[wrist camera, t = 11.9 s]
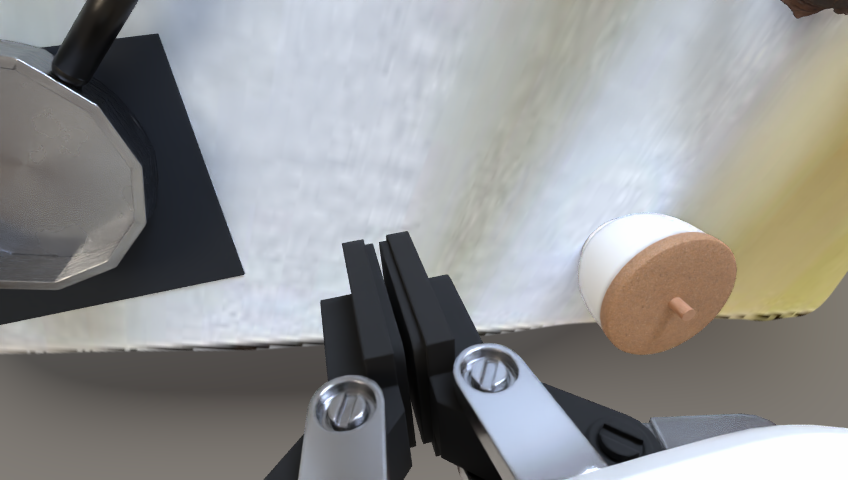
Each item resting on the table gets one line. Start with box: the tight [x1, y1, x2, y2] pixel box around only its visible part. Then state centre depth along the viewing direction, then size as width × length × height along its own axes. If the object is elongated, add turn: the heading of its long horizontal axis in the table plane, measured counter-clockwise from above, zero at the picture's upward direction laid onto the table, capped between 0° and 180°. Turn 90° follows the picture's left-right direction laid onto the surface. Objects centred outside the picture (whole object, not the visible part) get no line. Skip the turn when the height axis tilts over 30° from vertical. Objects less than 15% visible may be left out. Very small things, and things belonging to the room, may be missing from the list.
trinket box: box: [578, 213, 737, 355], centre depth 37 cm, size 11×11×9 cm
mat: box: [0, 34, 244, 325], centre depth 28 cm, size 16×18×1 cm
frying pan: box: [0, 0, 159, 290], centre depth 24 cm, size 22×13×3 cm, turn 138°
